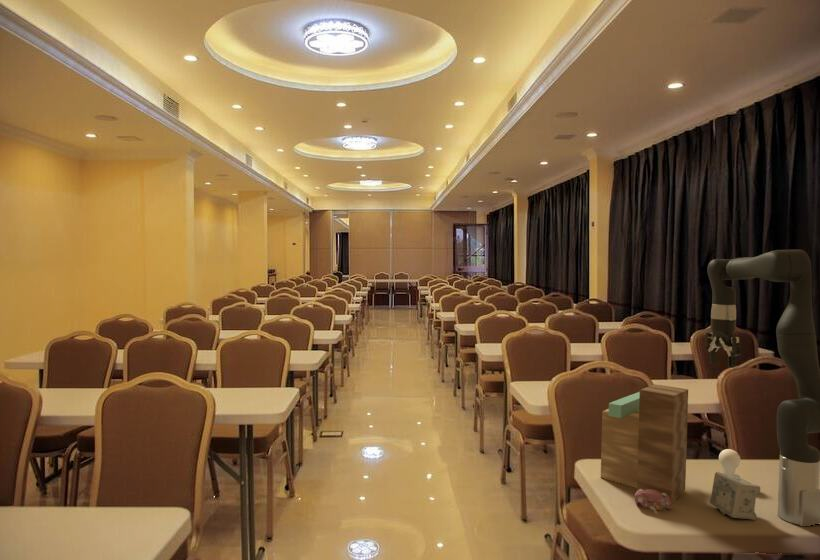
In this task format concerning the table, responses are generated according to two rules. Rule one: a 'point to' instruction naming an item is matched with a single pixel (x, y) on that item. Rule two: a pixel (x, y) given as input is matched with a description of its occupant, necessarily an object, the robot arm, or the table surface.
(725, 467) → the lightbulb
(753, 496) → the grey speckled block
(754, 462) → the table surface
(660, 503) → the pink animal figurine
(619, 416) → the bar
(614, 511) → the table surface
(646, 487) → the walnut stand
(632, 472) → the oak block
